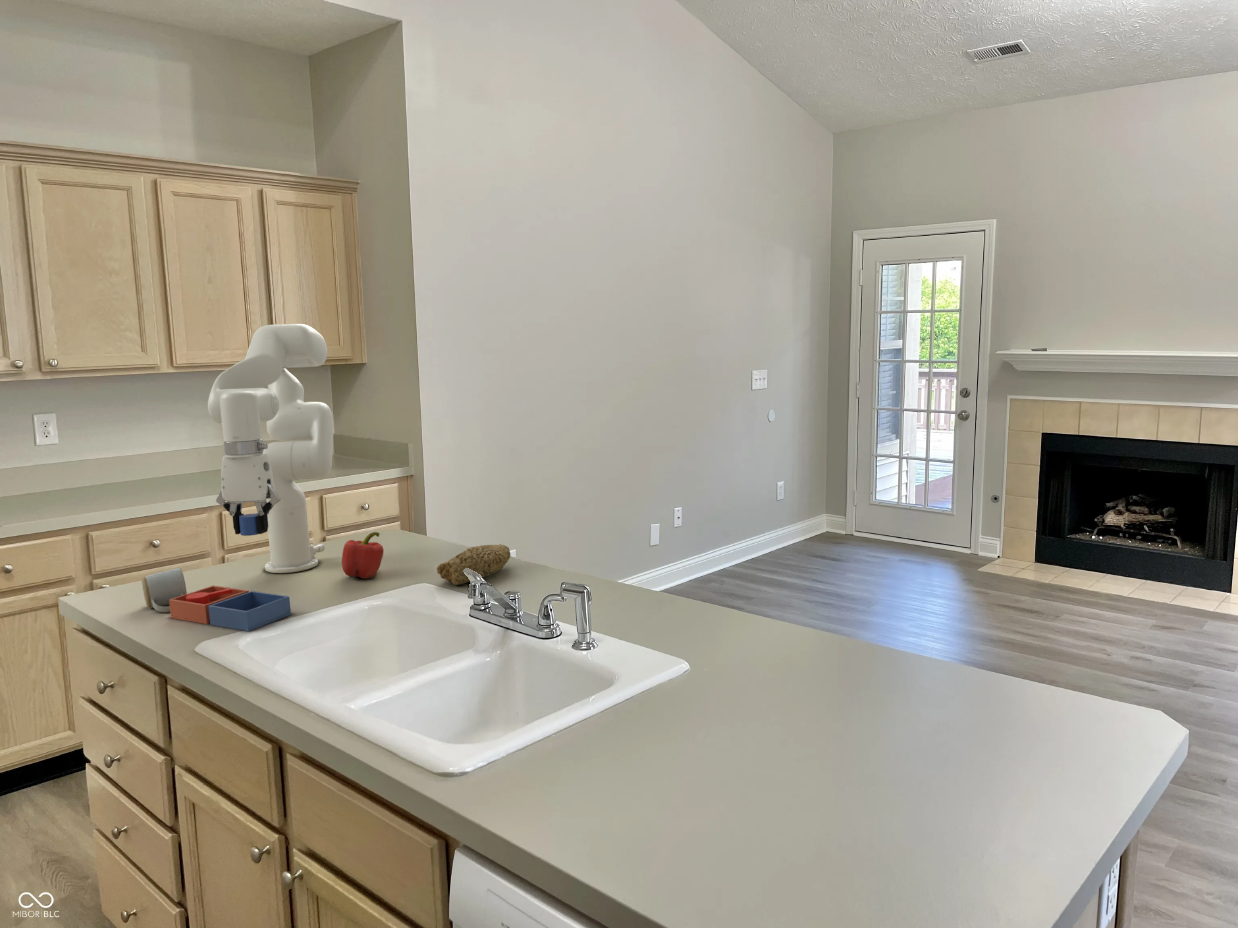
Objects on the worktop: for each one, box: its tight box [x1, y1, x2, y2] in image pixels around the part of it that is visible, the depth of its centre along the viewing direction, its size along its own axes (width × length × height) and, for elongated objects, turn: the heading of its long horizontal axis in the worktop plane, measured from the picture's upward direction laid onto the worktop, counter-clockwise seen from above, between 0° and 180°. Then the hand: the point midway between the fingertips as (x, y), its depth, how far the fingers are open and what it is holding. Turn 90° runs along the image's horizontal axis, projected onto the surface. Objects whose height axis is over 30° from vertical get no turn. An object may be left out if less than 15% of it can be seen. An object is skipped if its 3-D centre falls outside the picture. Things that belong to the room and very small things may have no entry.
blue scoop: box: [239, 512, 269, 537], centre depth 199 cm, size 9×4×4 cm, turn 173°
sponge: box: [436, 543, 511, 586], centre depth 214 cm, size 13×8×20 cm
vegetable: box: [341, 531, 385, 579], centre depth 217 cm, size 11×10×10 cm
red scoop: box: [186, 587, 233, 605], centre depth 193 cm, size 9×4×4 cm, turn 133°
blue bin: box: [208, 590, 292, 632], centre depth 187 cm, size 11×11×4 cm
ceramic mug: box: [141, 567, 188, 613], centre depth 198 cm, size 11×8×8 cm
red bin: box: [169, 585, 250, 625], centre depth 193 cm, size 11×11×4 cm
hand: (251, 532), depth 197 cm, fingers closed on blue scoop, 4 cm apart
